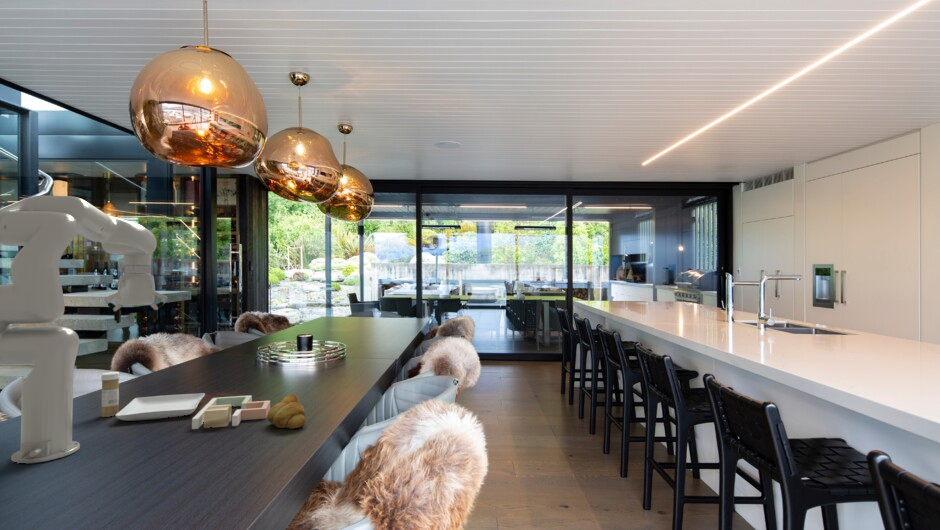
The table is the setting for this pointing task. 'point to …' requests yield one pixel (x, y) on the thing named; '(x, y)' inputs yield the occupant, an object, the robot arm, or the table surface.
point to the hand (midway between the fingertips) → (136, 322)
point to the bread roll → (287, 413)
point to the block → (217, 416)
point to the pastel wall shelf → (245, 413)
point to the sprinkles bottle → (110, 393)
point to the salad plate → (160, 407)
